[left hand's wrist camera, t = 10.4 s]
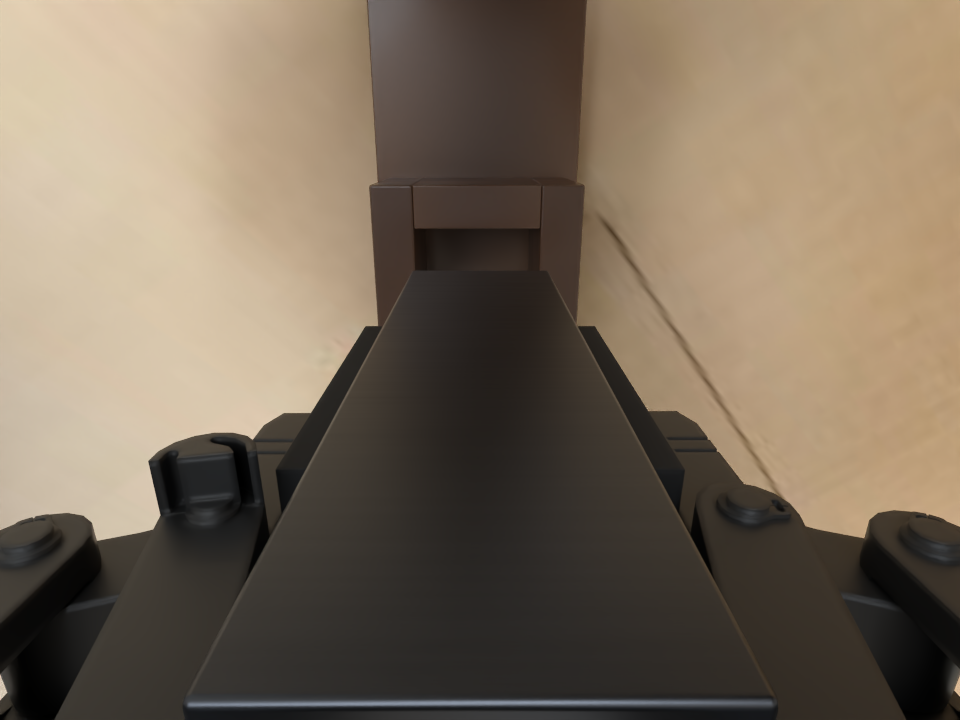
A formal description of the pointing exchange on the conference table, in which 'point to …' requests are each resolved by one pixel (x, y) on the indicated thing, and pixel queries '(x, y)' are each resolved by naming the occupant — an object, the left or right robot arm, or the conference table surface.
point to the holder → (476, 139)
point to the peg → (480, 543)
